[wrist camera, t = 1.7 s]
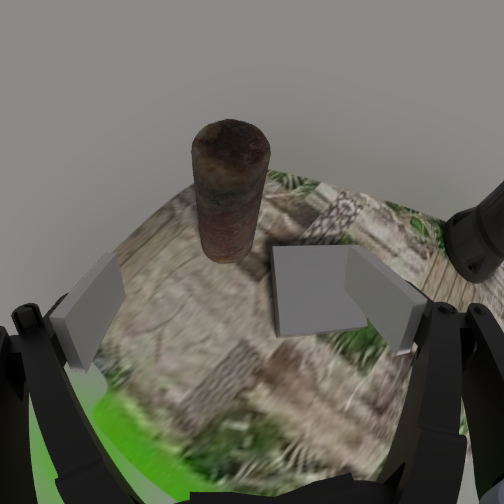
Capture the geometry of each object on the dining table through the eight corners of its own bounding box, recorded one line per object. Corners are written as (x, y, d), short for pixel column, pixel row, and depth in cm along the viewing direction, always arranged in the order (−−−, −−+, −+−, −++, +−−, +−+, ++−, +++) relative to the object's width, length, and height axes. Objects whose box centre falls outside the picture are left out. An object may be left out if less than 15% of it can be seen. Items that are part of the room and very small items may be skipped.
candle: (252, 221, 43) (268, 118, 25) (255, 266, 40) (276, 175, 22) (202, 222, 43) (188, 119, 24) (201, 267, 40) (180, 176, 21)
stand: (345, 253, 42) (353, 244, 39) (358, 329, 37) (367, 325, 35) (269, 255, 41) (272, 246, 38) (276, 338, 36) (280, 335, 34)
